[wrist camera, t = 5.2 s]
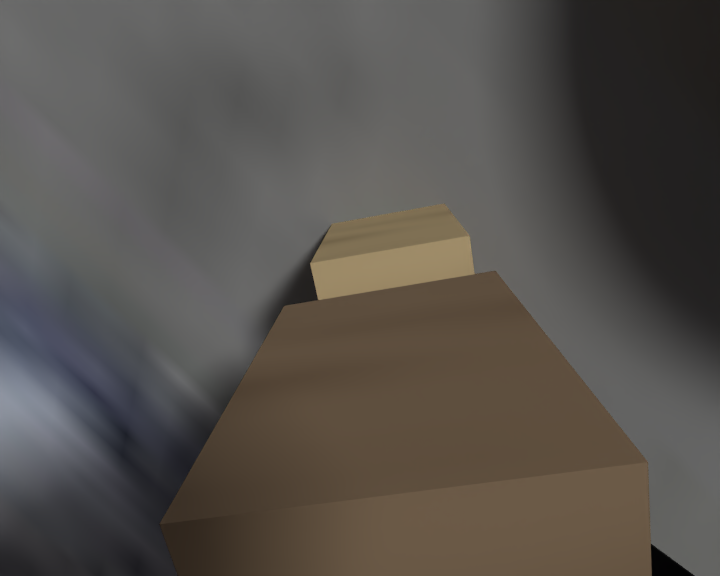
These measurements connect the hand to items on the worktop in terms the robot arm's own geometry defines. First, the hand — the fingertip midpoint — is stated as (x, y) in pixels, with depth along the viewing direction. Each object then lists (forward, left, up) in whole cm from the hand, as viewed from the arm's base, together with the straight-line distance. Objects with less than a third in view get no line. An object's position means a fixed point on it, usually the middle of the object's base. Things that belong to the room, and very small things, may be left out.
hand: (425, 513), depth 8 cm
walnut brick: (0, 0, -1) cm, 1 cm away
